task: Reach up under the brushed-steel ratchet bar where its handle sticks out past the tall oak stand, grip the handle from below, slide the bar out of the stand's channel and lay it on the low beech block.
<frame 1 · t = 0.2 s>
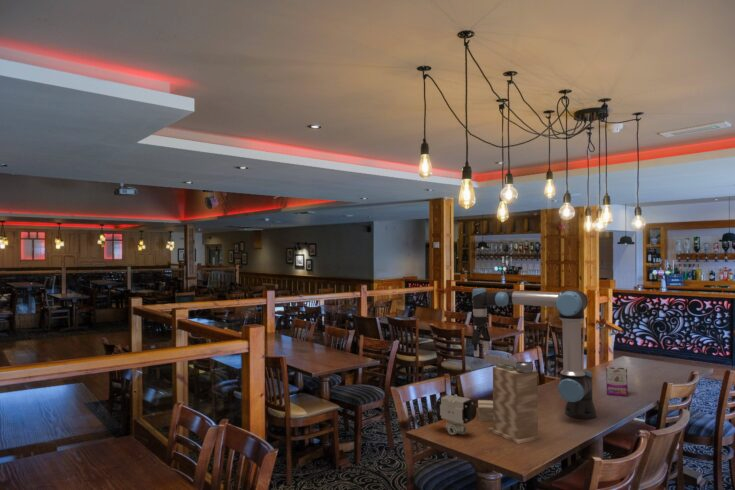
hand: (481, 354, 279), 28 cm above the table, tool pointing down, fingers open, 13 cm apart
ball valve: (455, 433, 234), on the table
candy bar box: (616, 395, 297), on the table
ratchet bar: (505, 366, 238), point 30 cm above the table, touching oak stand
beech block: (488, 416, 258), on the table
oak stand: (515, 434, 233), on the table
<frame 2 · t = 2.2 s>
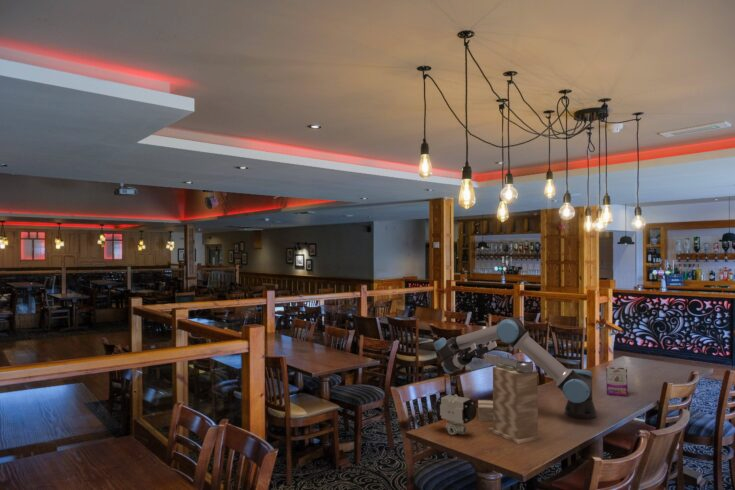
hand: (485, 344, 257), 37 cm above the table, tool pointing upward, fingers open, 13 cm apart
nothing on the table moved.
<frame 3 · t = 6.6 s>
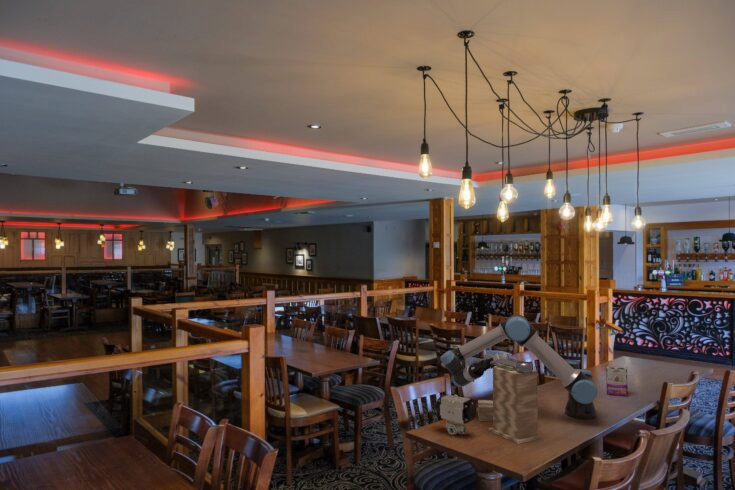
hand: (501, 355, 241), 35 cm above the table, tool pointing upward, fingers closed on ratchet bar, 4 cm apart
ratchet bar: (505, 366, 238), point 30 cm above the table, touching gripper, oak stand
everything else where it was.
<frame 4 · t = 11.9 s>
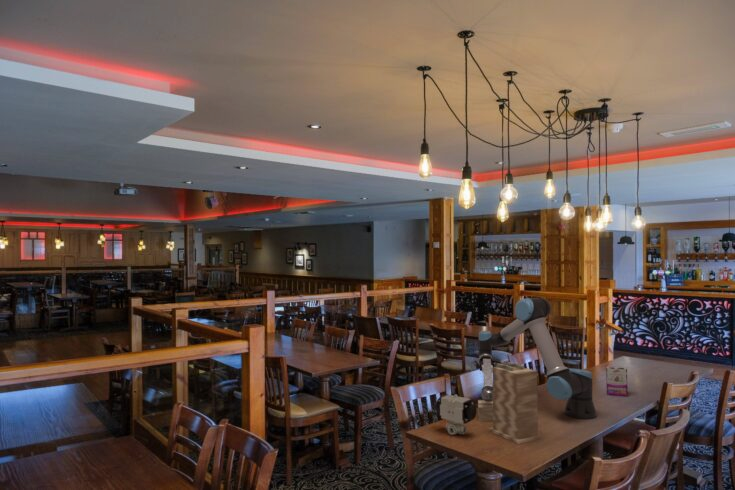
hand: (487, 370, 265), 22 cm above the table, tool horizontal, fingers closed on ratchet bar, 4 cm apart
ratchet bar: (487, 379, 265), point 17 cm above the table, tilted 29°, touching gripper
everything else where it was.
when the fingers open (9 cm above the table, at t = 14.7 s): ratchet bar stays where it is, resting on beech block.
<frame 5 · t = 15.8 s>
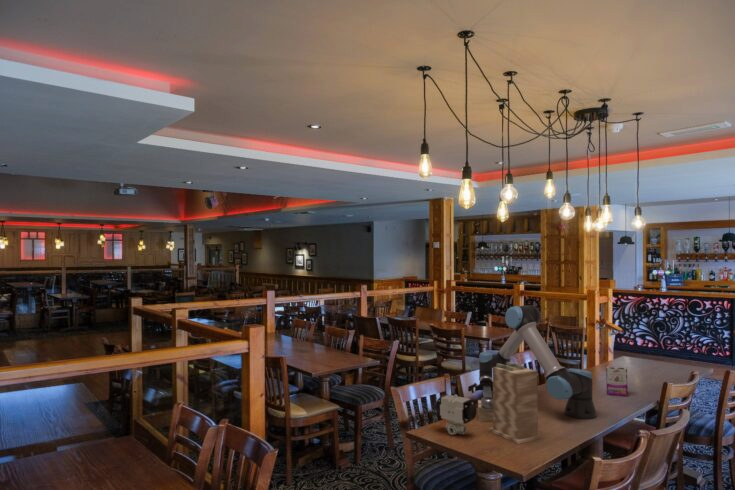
hand: (487, 393, 267), 9 cm above the table, tool horizontal, fingers open, 13 cm apart
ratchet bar: (487, 400, 265), point 6 cm above the table, touching beech block
everything else where it was.
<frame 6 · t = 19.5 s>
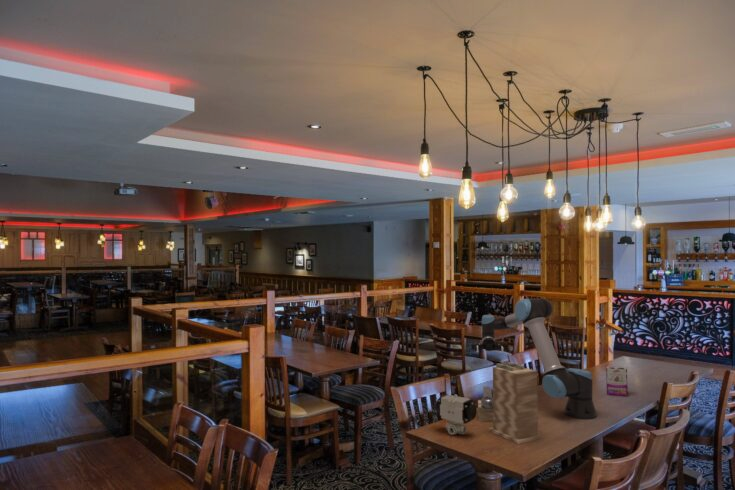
hand: (490, 350, 279), 30 cm above the table, tool horizontal, fingers open, 13 cm apart
nothing on the table moved.
at the end: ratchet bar inside the target area on the beech block (1.9 cm from its centre), point 6.5 cm above the beech block's base; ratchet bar touching beech block; the gripper is holding nothing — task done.
